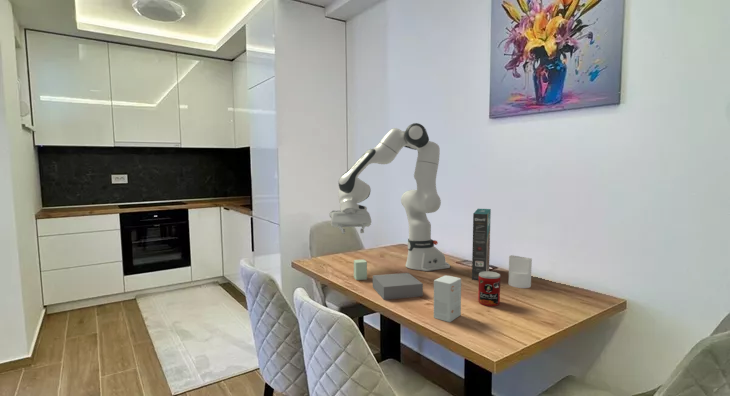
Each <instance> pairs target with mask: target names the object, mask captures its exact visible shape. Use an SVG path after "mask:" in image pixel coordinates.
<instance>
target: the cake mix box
mask: <svg viewBox="0 0 730 396" xmlns="http://www.w3.org/2000/svg"><path fill="white" fill-rule="evenodd" d="M491 211H492V210H491V208H477V209H476V210H475V211H474V212H473V215H472V217H473V218H472V253H471V255H472V256H471V257H472V258H471V259H472V260H471V261H472V262H471V264H472V265H471V270H472V271H471V280H472V281H479V273H480V272H483V271H490V256H491V255H490V249H491V248H490V247H491V245H490V244H491V217H492V216H491V215H492V214H491V213H492V212H491Z"/></svg>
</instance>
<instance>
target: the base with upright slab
mask: <svg viewBox="0 0 730 396" xmlns="http://www.w3.org/2000/svg"><path fill="white" fill-rule="evenodd" d="M532 260H533V258H530V257H525V256H519V255H514V254H512V255H509V257H508V279H507V280H508V284H507V285H509V286H511V287H513V288H517V289H518V288H519V289H528V288H531V286H532V267H533V266H532V263H533V262H532Z"/></svg>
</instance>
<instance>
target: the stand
mask: <svg viewBox="0 0 730 396" xmlns="http://www.w3.org/2000/svg"><path fill="white" fill-rule="evenodd" d="M372 288H373V290H375V292H377V294H378V295H379V296H380V297H381V298H382V300H383V301H384V300H385V301H387V300H396V299H407V298H408V299H409V298H416V297H417V298H419V297H423V295H424V283H422V282H421V281H420V280H419V279H417V278H416V277H415V276H413V275H412V274H410V273H409V272H402V273H390V274H389V273H386V274H375V275H372Z"/></svg>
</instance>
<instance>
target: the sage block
mask: <svg viewBox="0 0 730 396" xmlns="http://www.w3.org/2000/svg"><path fill="white" fill-rule="evenodd" d="M353 278H354V280H356V281H362V280H368V262H367V260H366V259H354V260H353Z"/></svg>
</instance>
